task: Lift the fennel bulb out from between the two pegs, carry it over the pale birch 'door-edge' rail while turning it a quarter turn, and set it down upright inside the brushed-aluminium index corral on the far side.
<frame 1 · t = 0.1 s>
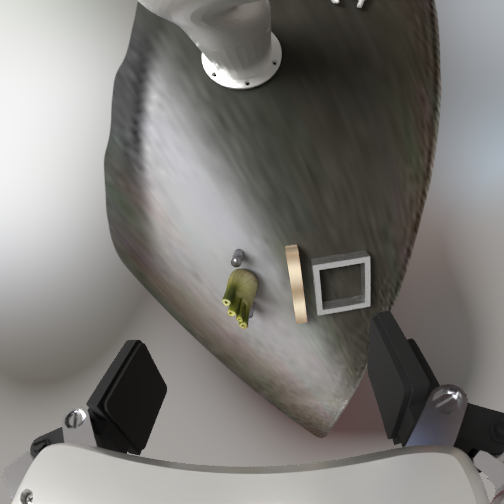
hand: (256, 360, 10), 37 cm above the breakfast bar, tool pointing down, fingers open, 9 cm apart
fennel bulb: (244, 278, 50), on the breakfast bar
index corral: (340, 279, 49), on the breakfast bar
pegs: (244, 279, 50), on the breakfast bar
door edge rail: (296, 281, 50), on the breakfast bar
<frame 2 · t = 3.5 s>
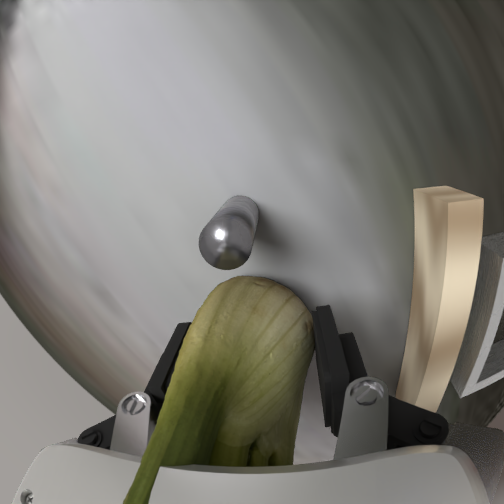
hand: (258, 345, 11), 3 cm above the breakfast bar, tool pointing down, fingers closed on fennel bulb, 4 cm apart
fennel bulb: (261, 309, 14), on the breakfast bar, touching gripper
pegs: (261, 311, 14), on the breakfast bar
door edge rail: (424, 313, 13), on the breakfast bar
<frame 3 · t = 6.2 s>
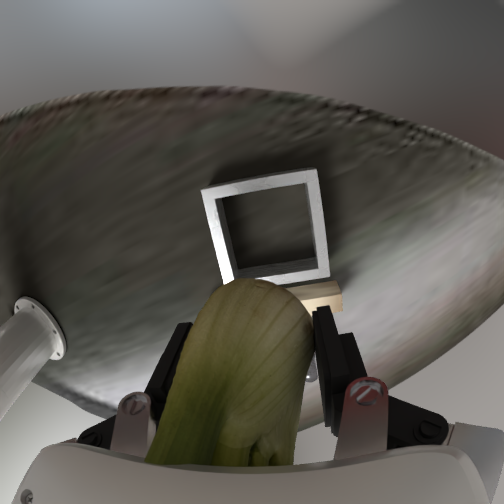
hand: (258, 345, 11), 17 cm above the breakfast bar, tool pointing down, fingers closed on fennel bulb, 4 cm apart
fennel bulb: (261, 311, 14), point 14 cm above the breakfast bar, touching gripper
index corral: (269, 225, 27), on the breakfast bar
door edge rail: (272, 298, 30), on the breakfast bar
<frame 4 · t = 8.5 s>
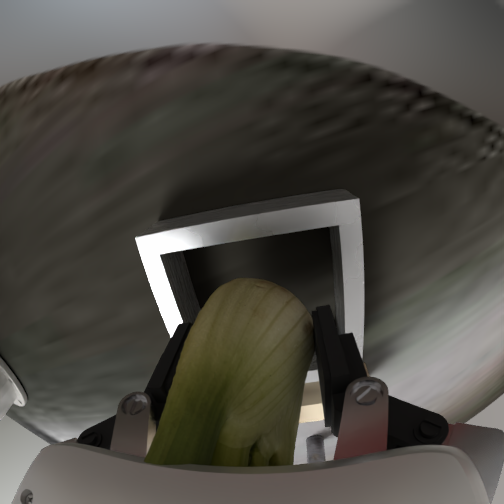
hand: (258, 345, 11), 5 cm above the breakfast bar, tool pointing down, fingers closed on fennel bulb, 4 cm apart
fennel bulb: (261, 310, 14), point 2 cm above the breakfast bar, touching gripper
index corral: (263, 290, 16), on the breakfast bar
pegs: (262, 444, 22), on the breakfast bar
door edge rail: (268, 386, 19), on the breakfast bar
when the fingers open (4 cm above the breakfast bar, at t = 9.0 s): fennel bulb drops 2 cm, resting in index corral.
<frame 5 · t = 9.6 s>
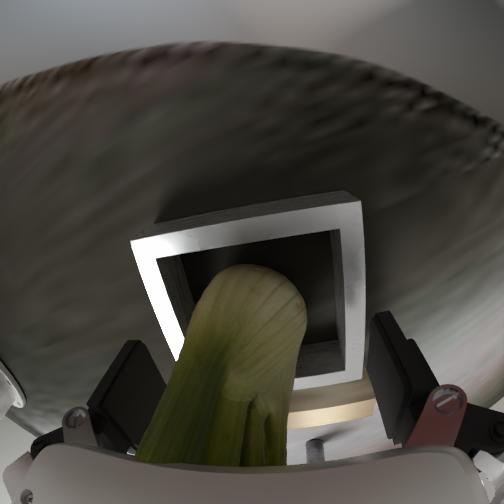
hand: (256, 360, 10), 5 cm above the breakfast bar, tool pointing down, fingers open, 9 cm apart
fennel bulb: (259, 295, 16), resting in index corral
index corral: (262, 294, 15), on the breakfast bar
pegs: (261, 447, 22), on the breakfast bar
door edge rail: (267, 390, 18), on the breakfast bar
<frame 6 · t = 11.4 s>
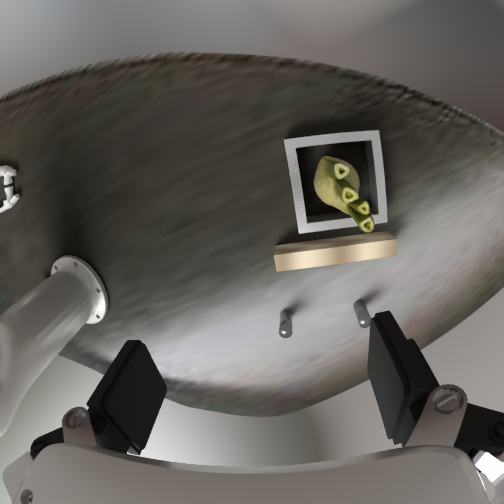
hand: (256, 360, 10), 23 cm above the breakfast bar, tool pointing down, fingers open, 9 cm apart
fennel bulb: (333, 179, 30), resting in index corral
index corral: (335, 178, 30), on the breakfast bar
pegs: (323, 310, 36), on the breakfast bar
door edge rail: (333, 245, 33), on the breakfast bar
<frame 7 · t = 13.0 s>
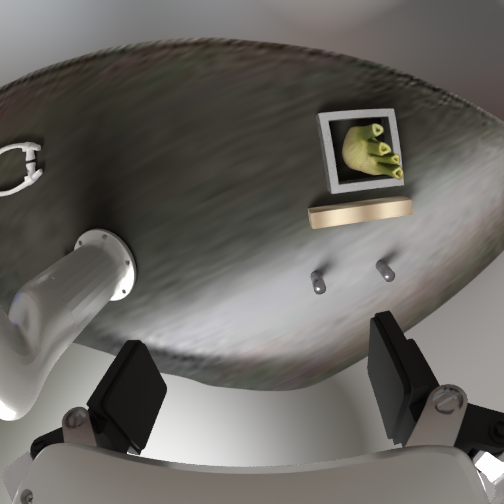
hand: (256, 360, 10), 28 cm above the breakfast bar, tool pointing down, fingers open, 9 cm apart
fennel bulb: (356, 150, 33), resting in index corral
index corral: (358, 149, 33), on the breakfast bar
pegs: (349, 270, 39), on the breakfast bar
door edge rail: (358, 208, 36), on the breakfast bar
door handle: (11, 169, 37), on the breakfast bar
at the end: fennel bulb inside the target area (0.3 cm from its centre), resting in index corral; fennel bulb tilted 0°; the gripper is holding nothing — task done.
